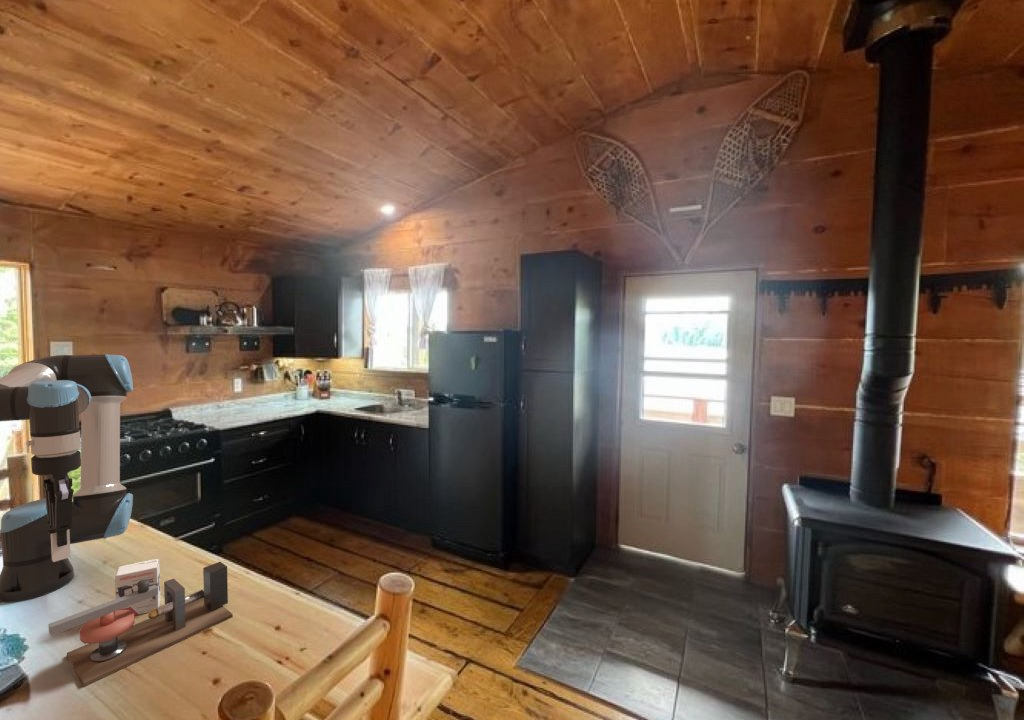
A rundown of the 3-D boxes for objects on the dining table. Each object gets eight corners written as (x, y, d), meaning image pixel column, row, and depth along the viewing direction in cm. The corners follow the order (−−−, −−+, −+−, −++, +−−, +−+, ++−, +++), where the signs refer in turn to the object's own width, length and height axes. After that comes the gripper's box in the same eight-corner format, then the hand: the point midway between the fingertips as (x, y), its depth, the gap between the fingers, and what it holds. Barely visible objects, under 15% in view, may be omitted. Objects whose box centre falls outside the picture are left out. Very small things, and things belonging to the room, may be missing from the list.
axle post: (87, 654, 100) (86, 632, 100) (121, 639, 105) (121, 618, 105) (94, 666, 97) (93, 644, 96) (130, 650, 101) (129, 629, 101)
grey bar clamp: (145, 629, 108) (144, 589, 107) (221, 597, 121) (220, 561, 120) (151, 636, 105) (150, 595, 105) (227, 603, 119) (227, 566, 118)
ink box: (115, 621, 112) (113, 575, 111) (119, 610, 116) (117, 566, 116) (159, 610, 117) (157, 566, 116) (160, 600, 121) (159, 557, 120)
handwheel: (45, 643, 96) (44, 607, 95) (150, 602, 110) (149, 570, 110) (56, 662, 90) (54, 624, 90) (164, 616, 105) (163, 583, 104)
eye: (165, 619, 112) (164, 581, 111) (174, 615, 114) (173, 578, 113) (175, 631, 108) (174, 591, 107) (185, 626, 110) (184, 588, 109)
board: (67, 656, 100) (66, 652, 100) (208, 596, 123) (208, 593, 123) (84, 686, 92) (84, 682, 92) (232, 616, 115) (232, 613, 115)
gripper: (24, 450, 98) (30, 555, 100) (37, 462, 91) (43, 576, 92) (72, 444, 104) (76, 543, 106) (88, 454, 97) (92, 561, 98)
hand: (61, 558), depth 99 cm, fingers closed
